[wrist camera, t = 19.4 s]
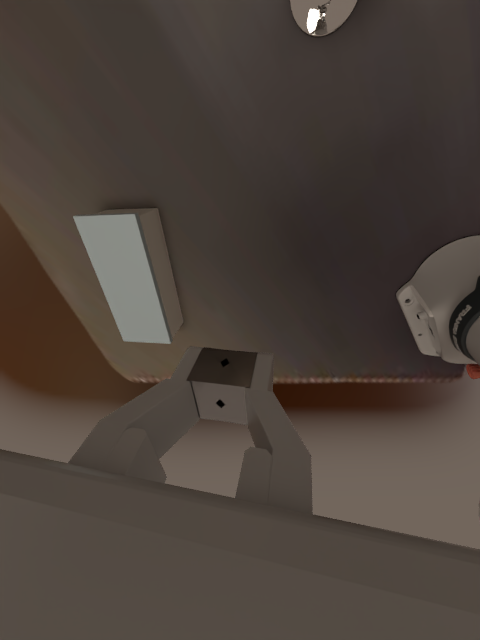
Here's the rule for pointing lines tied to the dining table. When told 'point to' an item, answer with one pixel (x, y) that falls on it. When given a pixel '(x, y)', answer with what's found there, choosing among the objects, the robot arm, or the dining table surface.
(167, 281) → the white open box
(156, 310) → the panel
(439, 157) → the dining table surface
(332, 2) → the wineglass
